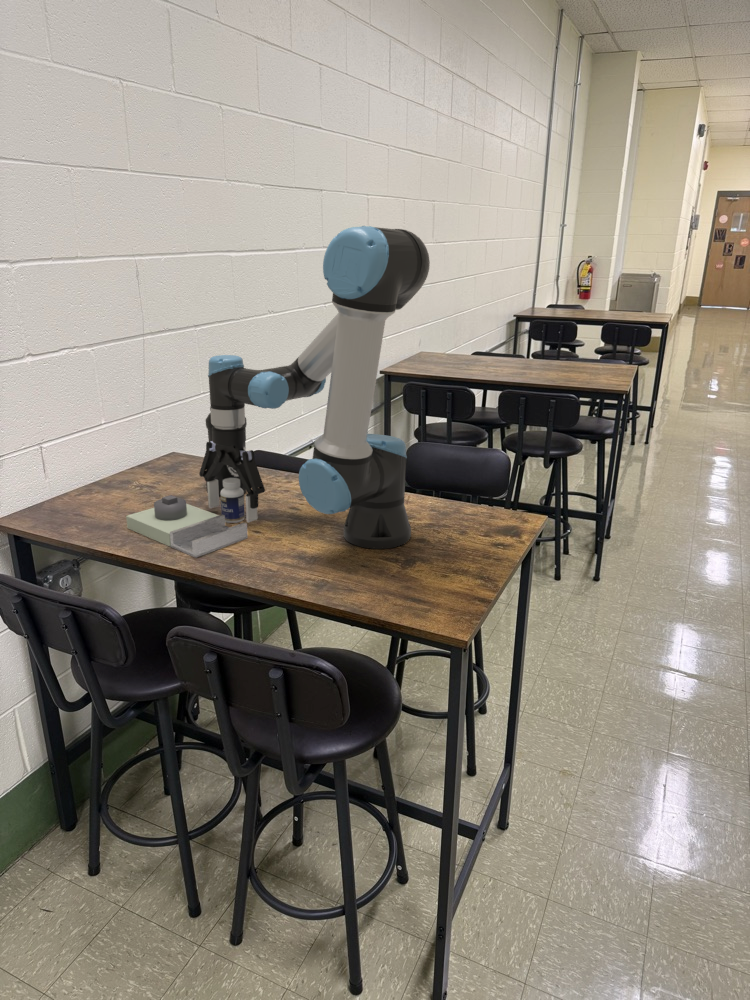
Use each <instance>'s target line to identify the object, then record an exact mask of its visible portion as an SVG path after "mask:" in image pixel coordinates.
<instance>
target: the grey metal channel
mask: <svg viewBox="0 0 750 1000" xmlns="http://www.w3.org/2000/svg"><path fill="white" fill-rule="evenodd" d="M218 515H219V516H216V517H213V518H210V519H207V520H204V521H201V522H198V523H195V524H192V525H189V526H186V527H183V528H180V529H177V530H174V531H171V532H170V541H171V547H170V548H172V549H174V550H177V551H179V552H181V553H183V554H186V555H188V556H190V557H193V558H196V559H197V558H199V557H202V556H205V555H208V554H210V553H212V552H215V551H218V550H221V549H223V548H226V547H228V546H231V545H234V544H236V543H238V542H241V541H244V540H247V539H248V538H249V536H248V522H247V523H246V522H242V523H239V524H236V525H233V526H227V525H226V522H225V515H221V514H218Z"/></svg>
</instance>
